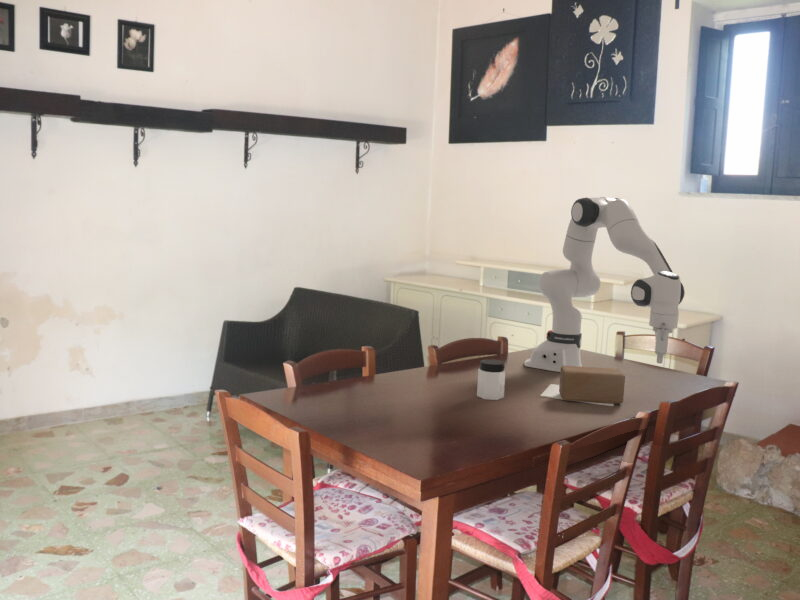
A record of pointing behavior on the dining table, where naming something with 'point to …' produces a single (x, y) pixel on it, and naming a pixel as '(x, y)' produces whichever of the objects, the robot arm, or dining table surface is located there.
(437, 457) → the dining table surface
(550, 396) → the mat
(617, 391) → the block
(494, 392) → the jar
